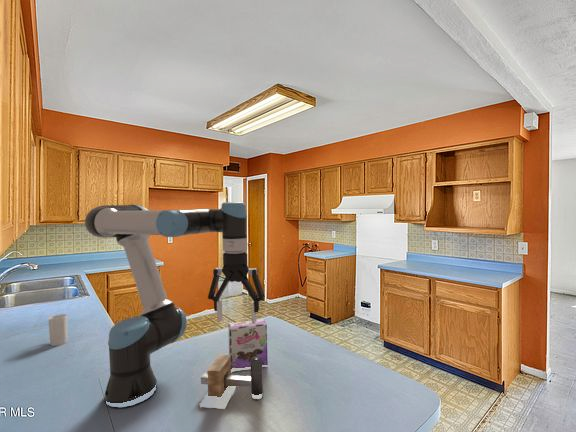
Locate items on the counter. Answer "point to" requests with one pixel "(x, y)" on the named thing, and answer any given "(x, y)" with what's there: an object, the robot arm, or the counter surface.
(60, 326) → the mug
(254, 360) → the hook rod
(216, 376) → the eye block
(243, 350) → the candy box
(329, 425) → the counter surface
